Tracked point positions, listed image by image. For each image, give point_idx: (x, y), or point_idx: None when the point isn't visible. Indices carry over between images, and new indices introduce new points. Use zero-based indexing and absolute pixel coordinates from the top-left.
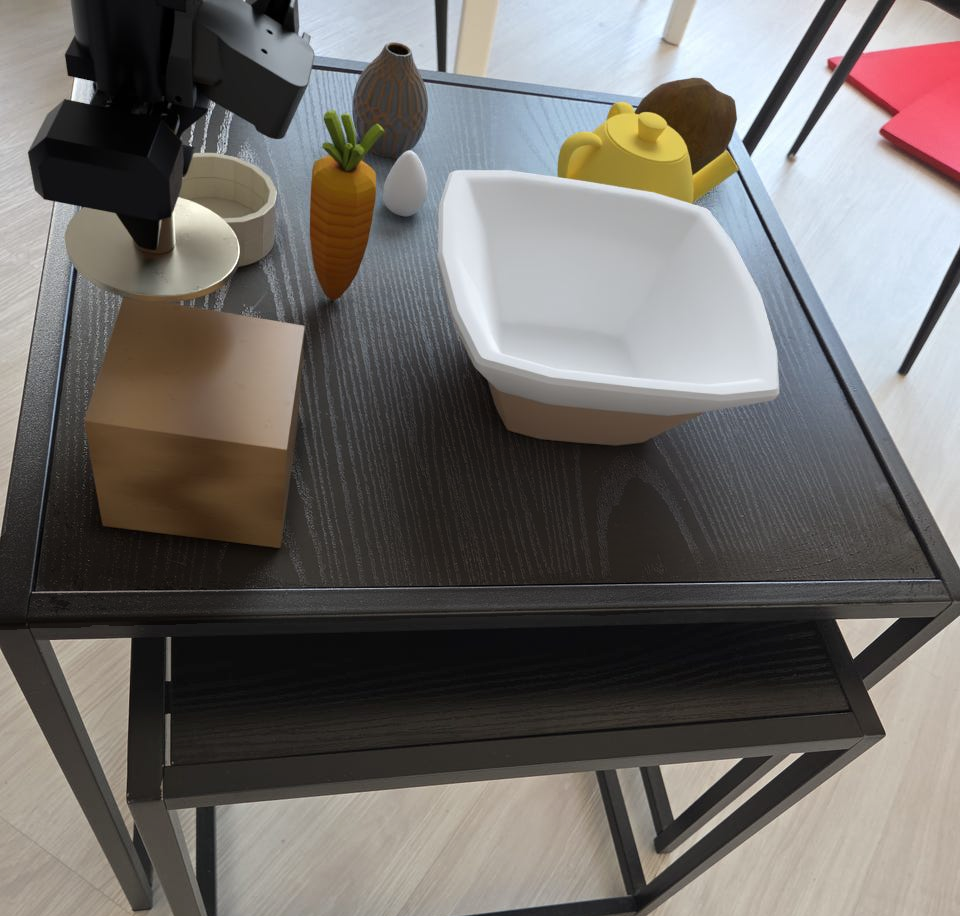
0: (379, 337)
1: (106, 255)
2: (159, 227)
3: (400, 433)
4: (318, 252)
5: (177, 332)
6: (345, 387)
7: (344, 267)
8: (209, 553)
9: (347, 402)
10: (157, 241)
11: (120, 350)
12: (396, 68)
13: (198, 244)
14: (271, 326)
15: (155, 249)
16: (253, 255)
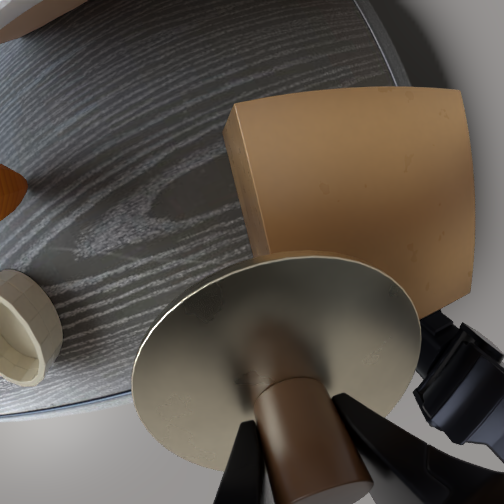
0: (50, 116)
1: None
2: (387, 420)
3: (181, 38)
4: (3, 207)
5: None
6: (135, 110)
7: (5, 172)
8: None
9: (157, 99)
10: (357, 402)
11: None
12: None
13: (259, 352)
14: (265, 156)
15: (344, 393)
16: (24, 279)
